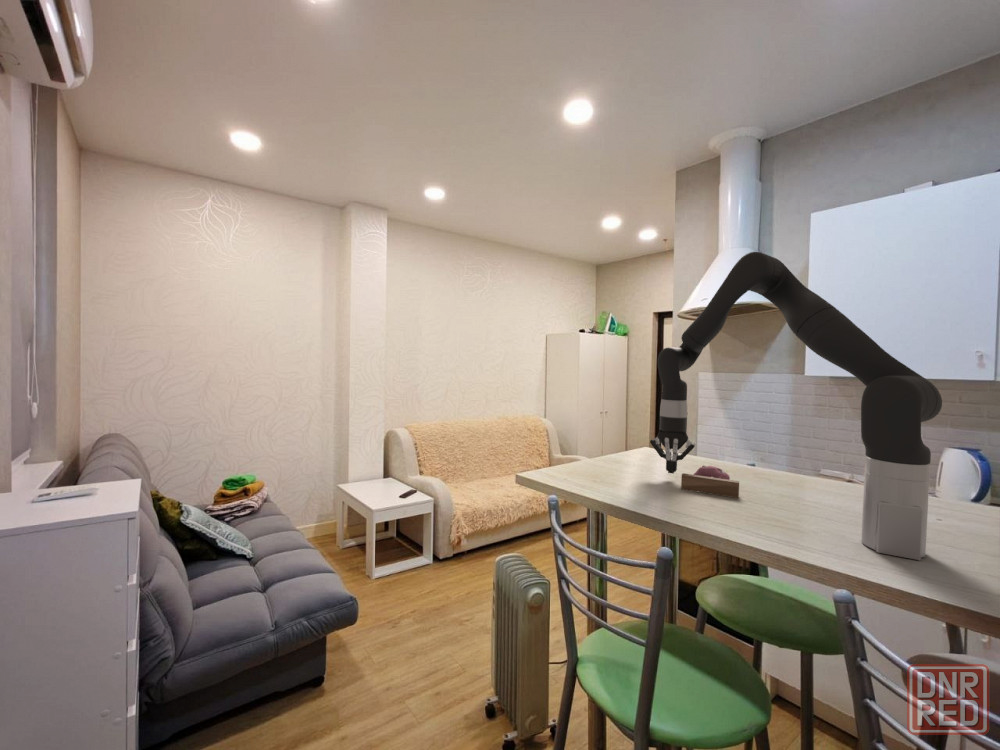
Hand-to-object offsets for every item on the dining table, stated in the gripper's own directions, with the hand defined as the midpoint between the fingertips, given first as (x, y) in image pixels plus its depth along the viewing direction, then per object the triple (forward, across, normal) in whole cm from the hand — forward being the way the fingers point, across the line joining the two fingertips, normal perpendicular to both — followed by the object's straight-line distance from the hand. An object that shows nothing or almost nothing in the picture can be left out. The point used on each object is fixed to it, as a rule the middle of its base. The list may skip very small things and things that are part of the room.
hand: (671, 472), depth 131 cm
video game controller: (+3, +10, -1) cm, 11 cm away
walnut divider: (+2, +11, -7) cm, 13 cm away
